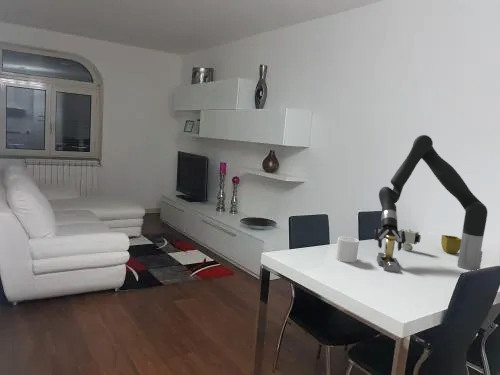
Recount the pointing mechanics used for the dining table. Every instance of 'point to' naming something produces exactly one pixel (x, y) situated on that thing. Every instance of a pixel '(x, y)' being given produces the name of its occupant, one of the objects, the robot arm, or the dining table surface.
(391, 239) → the brass pin
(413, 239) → the pneumatic valve
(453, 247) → the flower pot
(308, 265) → the dining table surface
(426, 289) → the dining table surface
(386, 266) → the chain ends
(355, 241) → the mug
